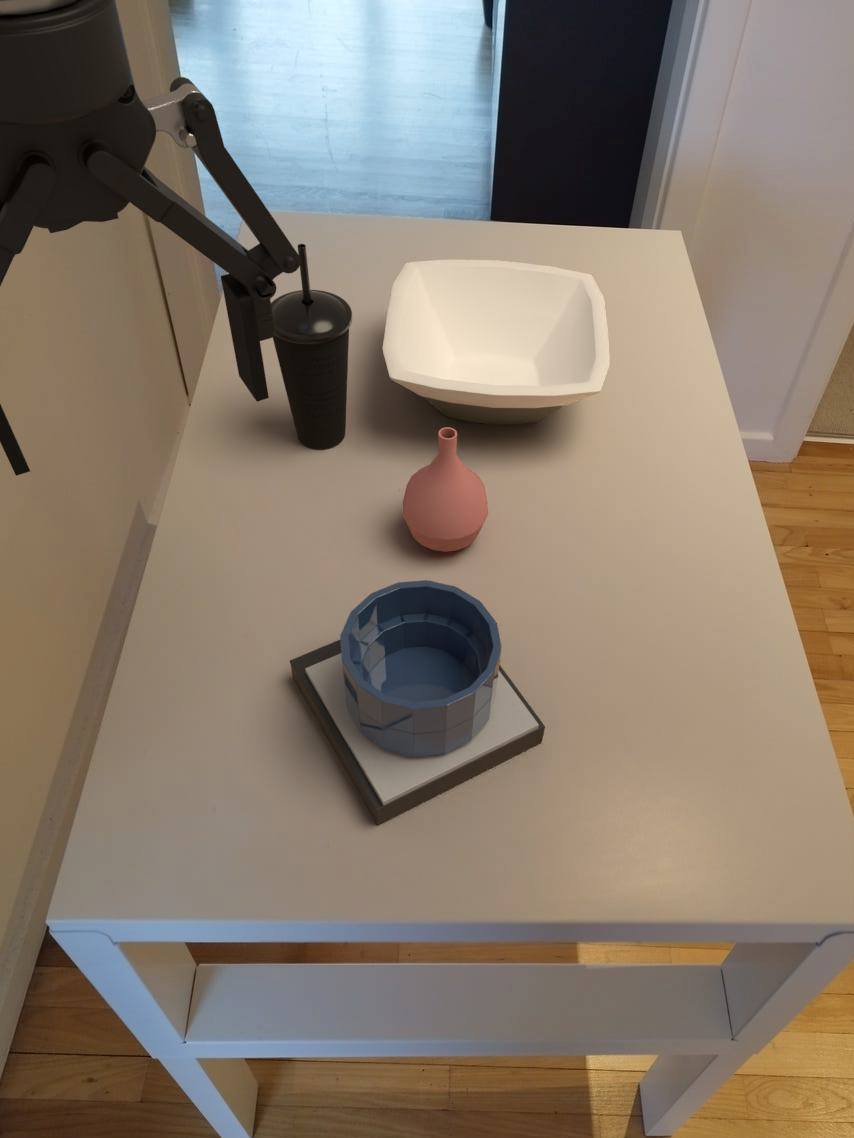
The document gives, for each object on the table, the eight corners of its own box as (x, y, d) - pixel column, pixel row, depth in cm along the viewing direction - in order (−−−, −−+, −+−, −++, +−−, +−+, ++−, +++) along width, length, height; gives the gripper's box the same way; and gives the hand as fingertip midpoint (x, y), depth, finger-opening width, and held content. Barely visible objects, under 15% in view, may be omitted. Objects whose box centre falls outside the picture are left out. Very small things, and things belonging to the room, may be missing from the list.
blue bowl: (322, 672, 70) (314, 616, 65) (447, 618, 74) (450, 560, 69) (389, 784, 65) (387, 733, 59) (521, 720, 69) (530, 666, 63)
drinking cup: (340, 467, 89) (324, 279, 73) (269, 447, 90) (238, 258, 74) (371, 420, 93) (362, 233, 77) (303, 402, 94) (280, 214, 78)
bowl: (590, 334, 104) (602, 266, 98) (600, 470, 91) (614, 401, 84) (398, 321, 104) (396, 252, 97) (378, 456, 90) (375, 386, 83)
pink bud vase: (470, 575, 81) (477, 475, 72) (390, 553, 82) (387, 451, 73) (495, 517, 86) (505, 415, 76) (419, 497, 87) (419, 394, 77)
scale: (292, 677, 74) (288, 655, 71) (447, 611, 79) (448, 589, 76) (377, 826, 66) (376, 807, 64) (542, 742, 71) (546, 722, 69)
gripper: (-377, 69, 28) (-82, 539, 45) (347, -30, 37) (368, 395, 54) (-387, -14, 32) (-111, 449, 49) (273, -86, 41) (314, 328, 58)
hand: (140, 421), depth 52 cm, fingers open, 13 cm apart
